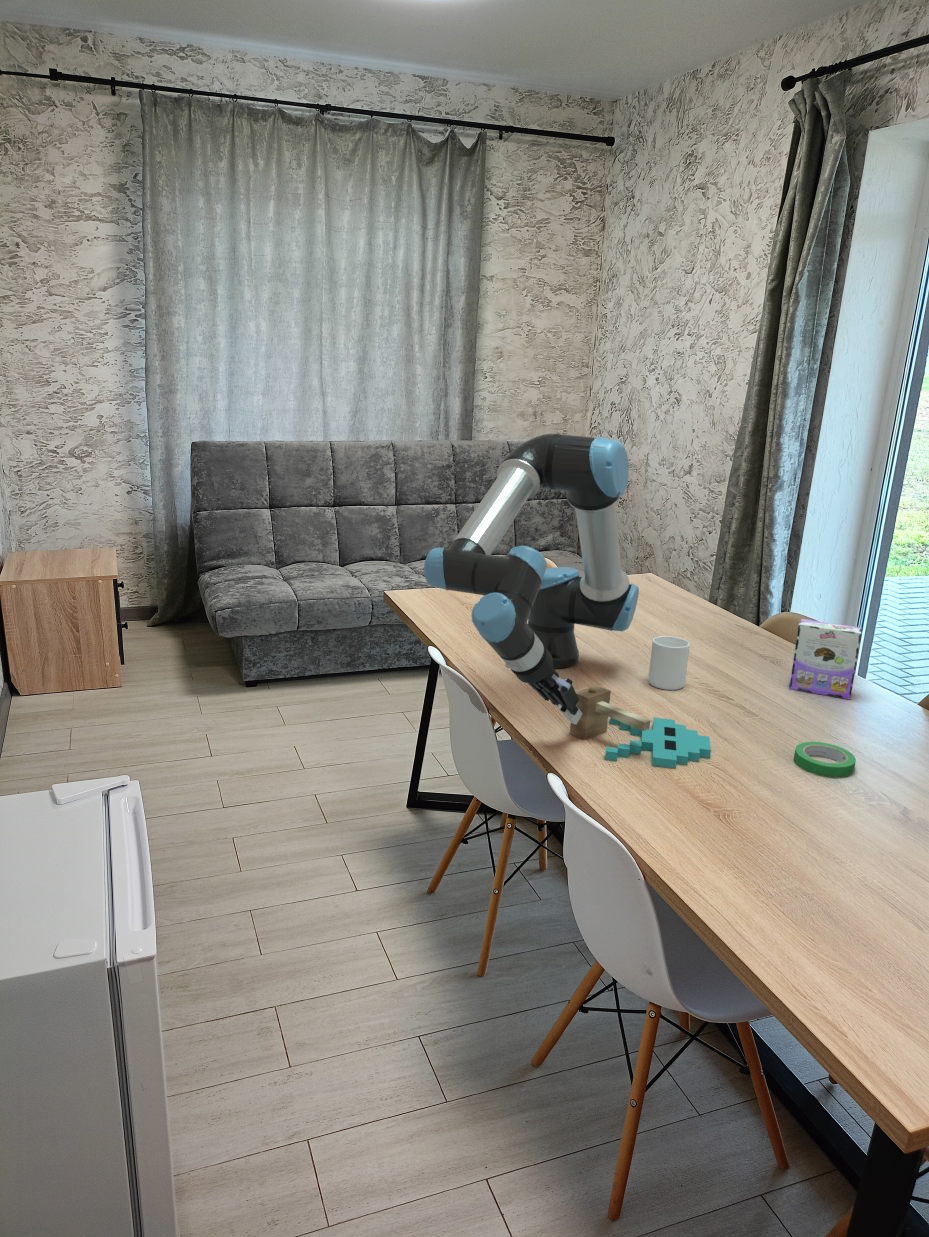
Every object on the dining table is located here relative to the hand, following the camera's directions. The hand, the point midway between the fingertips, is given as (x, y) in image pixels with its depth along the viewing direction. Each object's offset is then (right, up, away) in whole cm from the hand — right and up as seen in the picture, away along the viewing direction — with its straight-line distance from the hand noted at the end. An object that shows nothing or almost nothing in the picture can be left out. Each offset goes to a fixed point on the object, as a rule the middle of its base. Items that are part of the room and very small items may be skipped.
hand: (576, 718), depth 181 cm
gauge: (+7, -5, +1) cm, 9 cm away
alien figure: (+16, -6, +1) cm, 17 cm away
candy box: (+62, +3, +34) cm, 71 cm away
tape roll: (+47, -9, -5) cm, 49 cm away
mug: (+25, +5, +36) cm, 44 cm away
